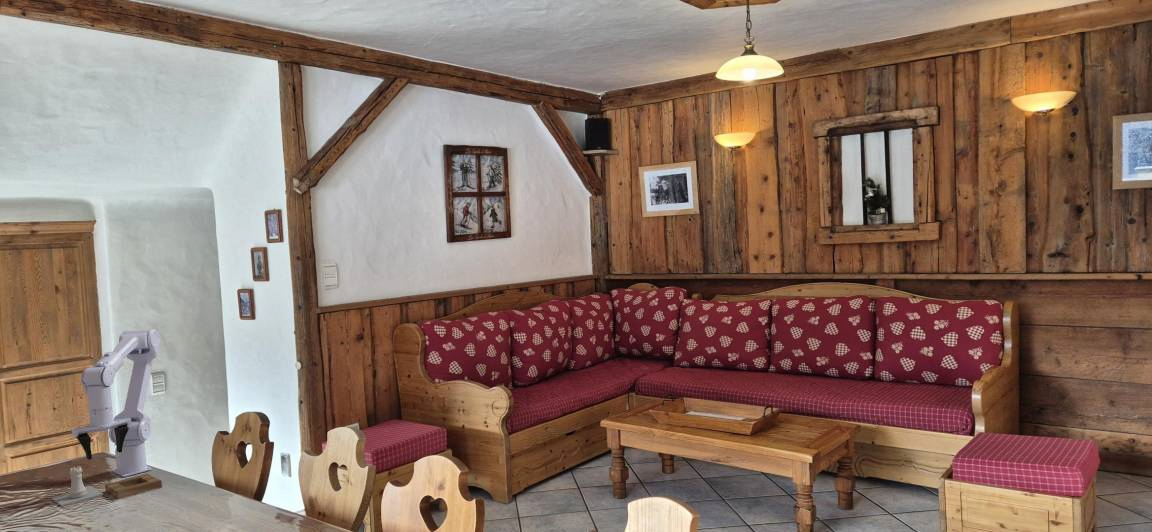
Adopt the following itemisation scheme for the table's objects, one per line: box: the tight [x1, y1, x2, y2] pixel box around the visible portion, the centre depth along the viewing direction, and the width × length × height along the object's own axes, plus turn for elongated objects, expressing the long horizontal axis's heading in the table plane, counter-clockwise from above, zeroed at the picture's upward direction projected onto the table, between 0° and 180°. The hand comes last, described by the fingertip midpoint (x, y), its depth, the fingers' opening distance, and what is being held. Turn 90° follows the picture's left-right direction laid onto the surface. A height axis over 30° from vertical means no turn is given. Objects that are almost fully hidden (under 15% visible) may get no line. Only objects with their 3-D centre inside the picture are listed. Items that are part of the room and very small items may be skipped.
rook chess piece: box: [67, 465, 87, 499], centre depth 209 cm, size 4×4×8 cm
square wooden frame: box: [104, 473, 163, 500], centre depth 214 cm, size 11×11×2 cm
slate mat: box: [50, 486, 104, 508], centre depth 210 cm, size 10×10×1 cm
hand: (104, 455), depth 217 cm, fingers open, 7 cm apart
